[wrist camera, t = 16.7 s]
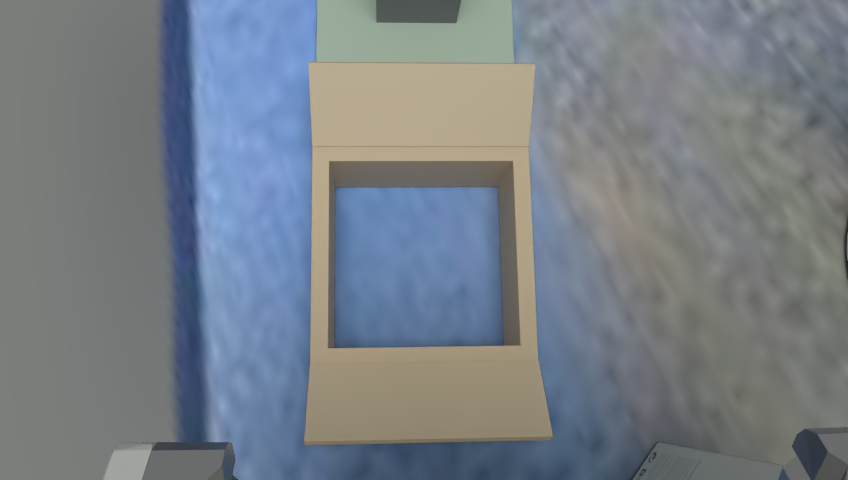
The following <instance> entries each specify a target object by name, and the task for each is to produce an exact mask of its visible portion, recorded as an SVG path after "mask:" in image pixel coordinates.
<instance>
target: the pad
mask: <svg viewBox="0 0 848 480" xmlns="http://www.w3.org/2000/svg"><path fill="white" fill-rule="evenodd" d="M317 62H458V63H514V50H513V26H512V2H511V0H461V4H460V8H459V13H458V18H457V23H377V21H376V0H317Z"/></svg>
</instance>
